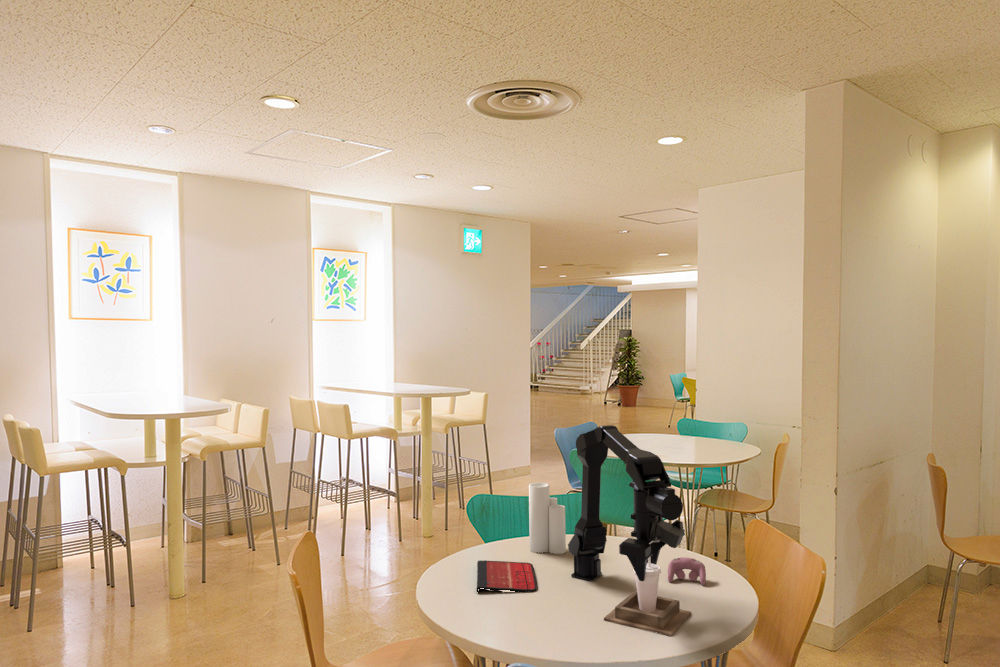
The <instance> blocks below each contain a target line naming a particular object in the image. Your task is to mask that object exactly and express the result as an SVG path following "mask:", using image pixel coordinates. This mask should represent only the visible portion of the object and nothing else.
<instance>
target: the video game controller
mask: <svg viewBox="0 0 1000 667" xmlns="http://www.w3.org/2000/svg"><path fill="white" fill-rule="evenodd" d="M684 570H688V571H689V570H690V571H689V573H688V578H689V580H691V581H692V582H695V580H696V581H697V580H698V578H699V580H700V584H701V585H702V586H705V584H706V579H707V573H706V566H705V565H704V563H703V562H701V560H698V559H695V558H692V557H691V558H690V557H677V558H673V559H671V560H670V561H669V563H668V566H667V581H668V582H669V583H672V582H673V580H674V578H675V576H676V577H677V579H678V580H680V579H682V580H685V578H686V574H685V571H684Z"/></svg>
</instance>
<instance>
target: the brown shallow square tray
mask: <svg viewBox="0 0 1000 667" xmlns="http://www.w3.org/2000/svg"><path fill="white" fill-rule="evenodd" d="M680 606H681V605H680V600H677V599H672V598H667V597H662V596H658V595H657V601H656V609H655V611H652V612H645V611H642V610H640V609H639V601H638V594H637V591H632V592H631V593H630V594H629V595H628V596H626V597H625V598H624V599H623V600H622V601H620V603H618V604H617V605H616V606H614V609H613V610H611V611H610V612H609V613H608V614H606V615H605V616H604V617H603V621H606V622H610V623H615V624H619V625H623V626H627V627H631V628H635V629H640V630H642V631H643V630H644V631H648V632H651V631H652V632H653V633H655V632H657V633H656V634H659V633H661V634H660V635H664V636H669V637H672V636H673V635H674V633H676V631H678V629H679V628H680V627H681V626H682V625H683V624H684V623H685V621H687V619H688V618H690V616H691V615H692V611H690V610H686V609H681V607H680Z"/></svg>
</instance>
